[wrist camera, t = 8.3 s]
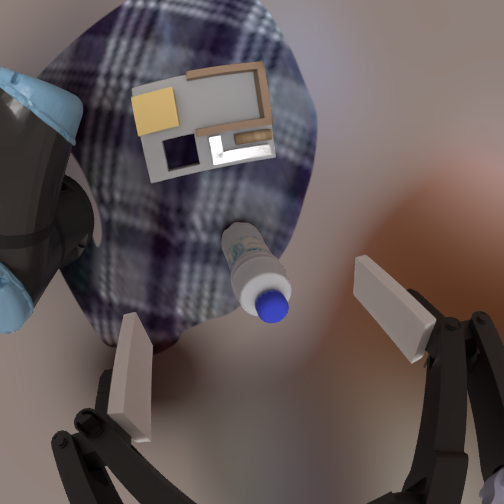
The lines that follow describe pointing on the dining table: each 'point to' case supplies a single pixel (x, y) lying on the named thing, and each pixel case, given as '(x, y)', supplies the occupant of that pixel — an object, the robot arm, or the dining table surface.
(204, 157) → the cubby deck
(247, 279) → the bottle
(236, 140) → the dowel
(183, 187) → the dining table surface
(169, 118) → the block
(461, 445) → the robot arm
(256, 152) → the crook tool
